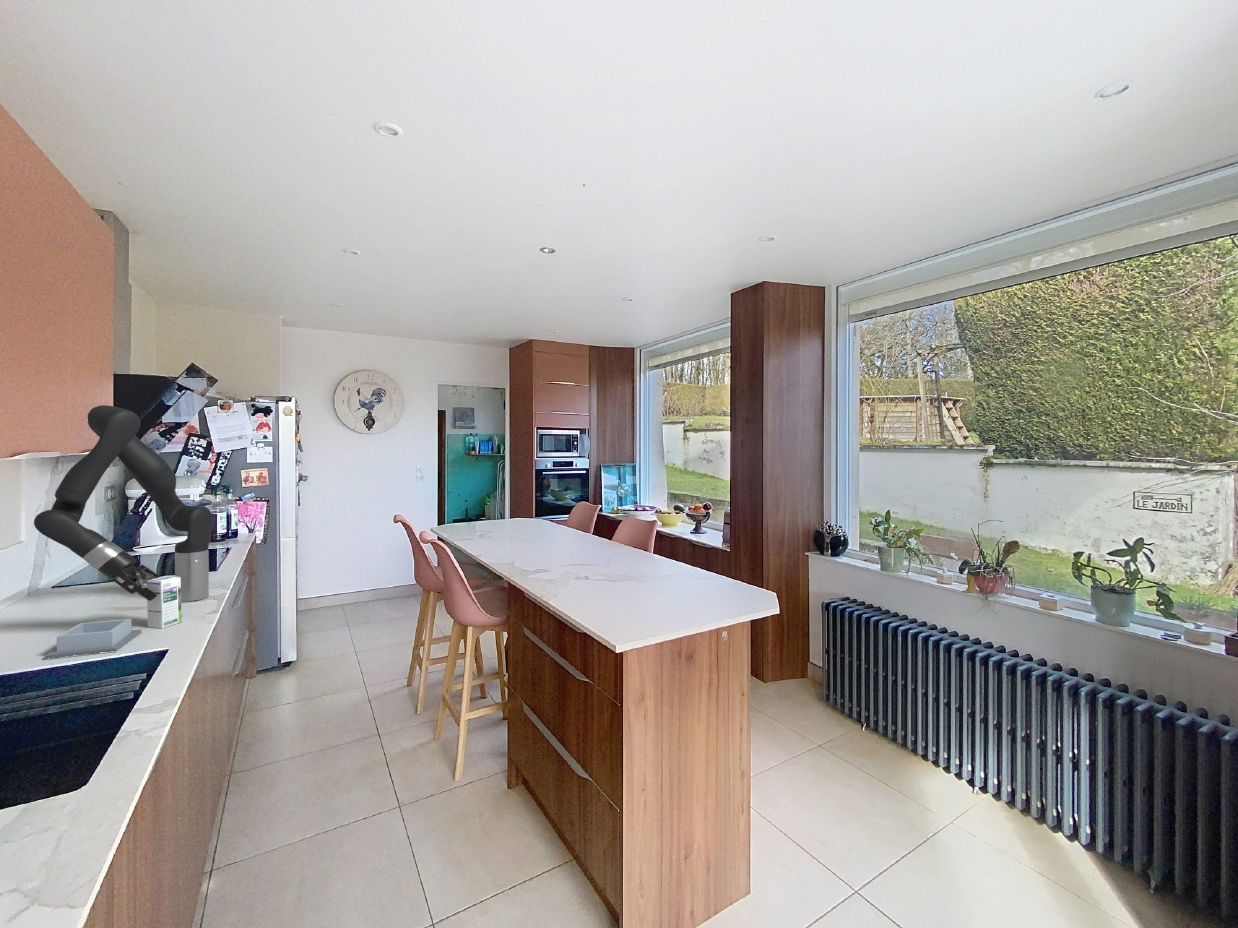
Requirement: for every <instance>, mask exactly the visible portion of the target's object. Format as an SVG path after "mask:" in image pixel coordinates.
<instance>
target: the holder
mask: <svg viewBox="0 0 1238 928" xmlns="http://www.w3.org/2000/svg"><path fill="white" fill-rule="evenodd" d="M132 623H133V622H132V618H123V619H113V620H112V619H111V620H102V621H100V620H99V621H89V622H80V623H78V624H75V626H73V627H71V628H69V629H67V630H66V631H65V632H62V633H61V634H59V635H58V636H56V648H55V649H53V650H52V651H50V652H48V653H46V654H45V655H44V658H43V659H46V660H49V659H48V658H55V659H60V658H59V657H65V656H73V655H83V654H93V655H96V654H95V653H100V652H111V651H117V650H118V649H119V650H121V649H122V648H123V647H124V646H123V645H125V644H126V645H128V644H129V643H130V642H131V641H133V640H134V639H135V638H136V637H138V636H139V635H140V634H142V629H132ZM132 639H133V640H132ZM129 641H130V642H129ZM128 642H129V643H128ZM126 645H125V646H126ZM122 646H123V647H122ZM121 647H122V648H121ZM120 648H121V649H120ZM119 650H118V651H119ZM118 651H117V652H118ZM111 653H112V652H111ZM83 656H84V655H83ZM65 658H66V657H65Z"/></svg>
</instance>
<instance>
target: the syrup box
mask: <svg viewBox="0 0 1238 928" xmlns="http://www.w3.org/2000/svg"><path fill="white" fill-rule="evenodd" d="M146 587H147V588H148V589H150V590H151V591H153V592H154V593H155V594H157V596H156V597H155V598H154V599H153V600H151V601H149V600H147V599H146V600H147V601H146V604H147V606H146V607H147V608H146V611H147V612H146V613H147V614H146V615H147V627H149V628H152V629H153V628H154V629H165V628H168V627H171V626H174V625H177V624H180V623H182V602H181V578H180V577H178V576H175V575H164V576H160V577H159V578H156V579H152V580H147V584H146Z"/></svg>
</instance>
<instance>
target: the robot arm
mask: <svg viewBox="0 0 1238 928" xmlns="http://www.w3.org/2000/svg"><path fill="white" fill-rule="evenodd" d="M87 416H88V417H87ZM87 416H86V419H87V418H88V422H87V424H88V427H89V428H90V430H91V431H92V432H93V433H95V434H96V436H98V437H99V439H98V441H97V442H96V444H95V445H94V447H93V448H92V449H91V450H90V451H89V452H88V453H86V455H85V456H84V457H82V458H81V459H79V460H78V461H77V462H76V463H75V464H74V465H72V467H70V469H68V471H67V472H66V473H65V475H64V476H63V479H62V480H61V482H60V484H59V485H58V487H57V488H56V490H55V493H54V497H55V501H54V503H53V505H52V507H51V509H47V510H44V511H41V512H39V513H38V514H36V516H35V518H34V520H33V525H34V527H35V529H36V530H37V531H38V532H39V533H40V534H41V535H43V536H44V537H46V538H48V539H49V540H52V541H54V542H56V543H58V544H60V545H61V546H64V547H66V548H67V549H69V550H70V551H72V552H73V553H74V554H75V555H77V556H78V557H80V558H81V559H83V560H84V561H85V562H86V563H87V564H88V565H90V567H92V568H94V569H96V570H97V571H99V572H100V573H101V574H103V575H105V577H107V578H109V579H111V580H113V582H115V584H117V585H118V586H120V587H121V588H122V589H124V590H125V591H126V592H127V593H129V594H131V595H133V594H136V595H137V594H138V595H140V596H142V597H143V598H145V599H146V600H149V601H151V600H153V599H154V598H155V597H156V596H157V594H155V593H154V592H153V591H151V590H150V589H148V588H147V586H145V584H146V585H147V580H152V579H156V578H161V576H160V575H159V574H158V573H156V572H154V571H153V570H151V569H150V568H149V567H147V566H145V565H144V564H141V565H140V566H138V567H137V566H136V565H135V564H136V563H137V562H138V561H137V558H136V557H134V556H133V555H131V554H130V553H128V552H127V551H125V549H123V548H122V547H120V546H119V545H117V544H116V543H113V542H112V541H110V540H108V539H107V538H106V537H104V536H103V535H101V534H100V533H99V532H97V531H95V530H93V529H89V528H87V527H85V526H83V525H82V524H81V523H80V521H81V518H82V516H83V514H84V511H85V508H86V506H87V505H86V504H87V502H88V501H89V499H90V497H91V496H92V494H93V492H94V491H95V489H96V487H97V486H98V484H99V482H100V481H101V479H102V478H103V475H104V474H105V472H106V471H107V470H108V469H109V467H110V466H111V465H112V464H113V462H114V461H115V460H116V459H117V458H118V459H119V460H120V462H121V463H122V465H124V467H125V468H126V469H127V470H128V472H129V473H130V474H131V476H132V477H133V478H134V480H135V481H136V482H137V483H138V484H139V486H140V487H141V488H142V489H143V490H144V491H145V492H146V493H147V495H148V496H149V498H150V499H151V501H153V502H154V504H155V505H156V507H157V508H158V510H159V511H160V513H161V514H162V516H163V518H164V520H165V522H166V523H167V524H168V525H169V526H170V528H171V529H173V530H175V531H177V532H187V536H186V539H185V540H183V541H179V542H177V543H176V544H175V545H174V576H178V577H180V578H181V603H185V602H186V603H187V602H195V600H196V601H201V600H204V599H206V598H209V596H210V594H209V592H210V588H209V587H210V585H209V583H210V582H209V581H210V580H209V579H210V578H209V577H210V575H209V574H210V573H209V566H210V565H209V563H210V559H209V558H210V557H209V546H210V542H211V540H212V524H213V516H212V512H211V510H210V509H209V508H208V507H206V506H204V505H187V504H185V503H184V502H183V501H182V499H180V498H179V496H178V494H177V493H176V487H177V476H176V474H175V473H174V471H173V469H172V468H171V467H170V465H169V464H168V462H166V460H165V459H163V458H162V456H161V455H160V454H158V453H157V452H156V451H155V450H153V449H152V448H150V447H149V446H148V445H146V444H145V443H144V442H143V441H142V440H140V439H139V438H138V436H137V435H136V434H137V433H138V432H139V430H140V427H141V418H140V417H139V416H138V415H137V413H135V412H134V411H132V410H130V409H125V408H121V407H118V406H113V405H97V406H95V407H92V408H91V409H90V410H89V412H88V414H87Z"/></svg>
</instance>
